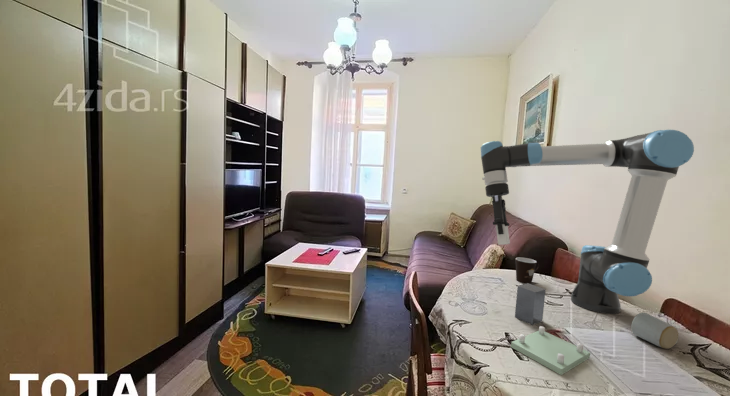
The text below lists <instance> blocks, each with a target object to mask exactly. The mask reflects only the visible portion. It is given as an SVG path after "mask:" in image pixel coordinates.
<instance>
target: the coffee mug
mask: <svg viewBox="0 0 730 396" xmlns="http://www.w3.org/2000/svg"><path fill="white" fill-rule="evenodd" d="M536 266H537V268H536ZM539 269H540V263H539V262H537V260H534V259H532V258H528V257H516V258H515V280H516V281H517V282H518V283H521V284H527V283H529V284H532V283H533V279H534V275H535V273H536V272H537V271H538V270H539Z"/></svg>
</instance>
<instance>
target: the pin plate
mask: <svg viewBox="0 0 730 396" xmlns="http://www.w3.org/2000/svg"><path fill="white" fill-rule="evenodd" d="M545 330H546V328H545V327H544V326H541V325H539V328H538V330H537V331H534V332H532V333H529V334H527V335H524V334H523V333H522V334H519V337H518V338H517V339H515V340H513V341H511V342H510V343H511V344H510V348H512V349H514V350H515V351H517V352H519V353H521V354H523V355H525V357H526V356H527V357H528V358H530V359H531V360H533V361H535V362H537V363H538V364H541V365H542V366H544V367H546V368H547V369H549V370H551V371H553V372H555V373H557V374H558V375H560V376H562V375H564V374H565V373H567V372H568V371H570V370H571V369H574V368H575V367H577V366H579V365H580V364H582V363H584V362H585V361H587V360H588V359H590V358H591V352H590V351H589V350H586V349H584V348H585V346H584V344H582V343H580V342H579V343H578V342H577V344H576V345H575V344H574V343H571V342H569V341H566V340H564V339H563V338H560V337H558V336H557V335H553V334H551V333H549V332H547V331H545Z"/></svg>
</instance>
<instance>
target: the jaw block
mask: <svg viewBox="0 0 730 396" xmlns="http://www.w3.org/2000/svg"><path fill="white" fill-rule="evenodd" d="M545 297H546V288H543V287H540V286H538V285H535V284H532V283H530V284H529V283H527V284H526V283H522V284H519V285H517V289H516V298H515V300H516V301H515V311H514V312H515V313H514V318H515V319H518V320H519V321H523V322H524V323H527V324H528V325H531V326H534V325H536V324H538V323H542V322H543V320H544V319H543V317H544V309H545V308H544V307H545V301H546V300H545V299H546V298H545Z"/></svg>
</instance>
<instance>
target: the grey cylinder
mask: <svg viewBox="0 0 730 396" xmlns="http://www.w3.org/2000/svg"><path fill="white" fill-rule="evenodd" d="M630 328H631V333H632V334H633V335H634V336H636V337H638V338H640V339H642V340H644V341H647V342H649V343H651V344H653V345H654V346H657V347H659V348H662V349H666V350H667V349H671V348H673V347H674V346H675V345H676V344H677V343H678V342H679V341H678V340H679V331H678V330H677V328H676V327H675V326H674V325H672V324H671V323H668V322H666V321H663V320H661V319H660V318H658V317H655V316H653V315H651V314H649V313H647V312H640V313H638V314H636V315H635V317H634V318H633V319H632V322H631V327H630Z"/></svg>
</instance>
